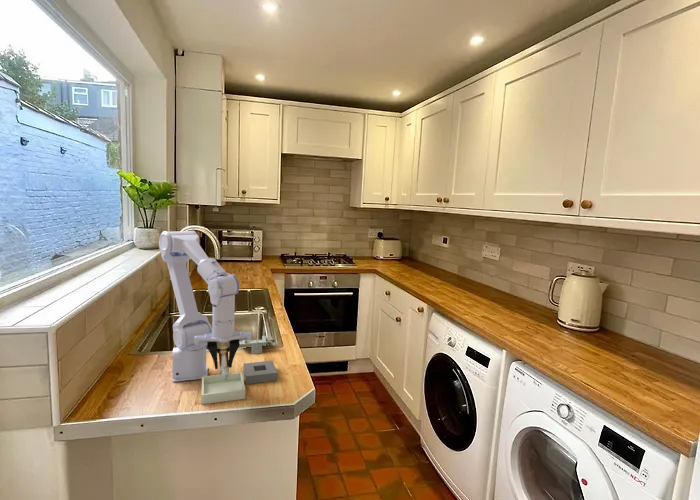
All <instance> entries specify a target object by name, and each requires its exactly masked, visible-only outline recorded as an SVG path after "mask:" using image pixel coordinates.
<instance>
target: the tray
mask: <svg viewBox="0 0 700 500" xmlns="http://www.w3.org/2000/svg"><path fill="white" fill-rule="evenodd" d="M244 380H245V379H244V374H243V372H242V371H240V372H239V371H238V372H232V373H230V372H229V379H228V380H226V381H222V380H220V374H212V375H208V376H202V379H201V396H200V397H201V405H206V404H208V405H209V404H212V403H213V404H215V403H222V402H230V401H235V400H242V399H243V400H244V399H246V387H245V381H244Z"/></svg>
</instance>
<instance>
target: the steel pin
mask: <svg viewBox="0 0 700 500" xmlns="http://www.w3.org/2000/svg"><path fill="white" fill-rule="evenodd" d="M229 351H230V350H229V345H228V346H225V345H224V346H219V347H217V354H218V359H219V360H218V361H219V363H218V364H219V375H220V380H222V381H226V380H228V379H229V374H230V368H229Z"/></svg>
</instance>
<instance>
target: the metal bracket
mask: <svg viewBox="0 0 700 500" xmlns="http://www.w3.org/2000/svg"><path fill="white" fill-rule="evenodd" d="M273 341H274V338H268V336H266V335H262V337H261V339H253V340H252V339H251V341H247V340H240V341H239V343H240V345H251V355H253V354H255V355H256V354H262V353H263V344H265V343H273ZM240 345H239V346H240Z"/></svg>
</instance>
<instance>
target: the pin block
mask: <svg viewBox="0 0 700 500" xmlns="http://www.w3.org/2000/svg"><path fill="white" fill-rule="evenodd" d="M242 367H243V369H242V371H243V372H242V373H243V377H244V380H245V381H244V382H245V384H246V385H252V384H253V385H254V384H259V383H261V384H262V383H267V382H269V383H270V382H274V381H275V382H276V381H277V382H278V371H277V369H276V366H275V364H274V361H273V360H265V361H256V362H255V361H254V362H247V363H246V362H245V363H243V366H242Z"/></svg>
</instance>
